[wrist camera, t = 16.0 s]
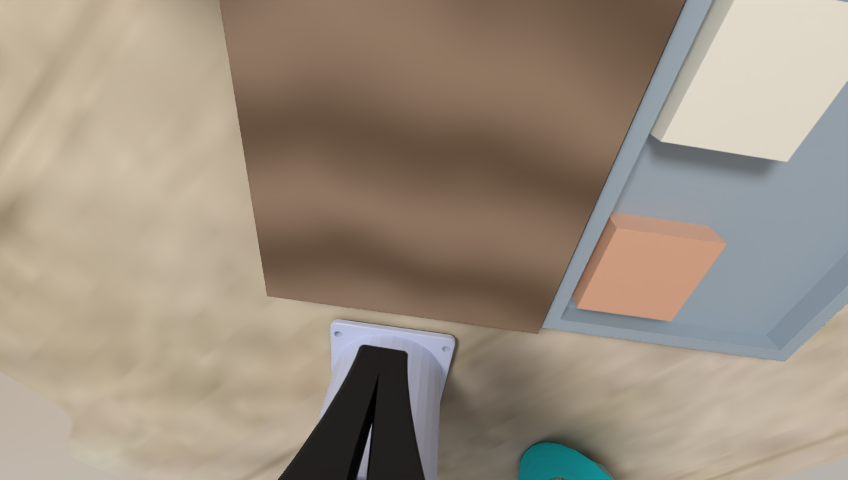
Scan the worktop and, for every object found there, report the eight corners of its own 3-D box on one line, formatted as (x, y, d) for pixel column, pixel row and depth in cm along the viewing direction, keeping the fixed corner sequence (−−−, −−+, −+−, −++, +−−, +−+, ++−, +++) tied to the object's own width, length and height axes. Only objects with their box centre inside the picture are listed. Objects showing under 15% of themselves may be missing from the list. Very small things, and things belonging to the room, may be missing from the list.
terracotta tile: (658, 301, 20) (671, 321, 19) (569, 289, 20) (577, 308, 19) (708, 226, 18) (727, 243, 16) (605, 211, 18) (616, 228, 16)
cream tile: (760, 148, 15) (787, 162, 14) (644, 129, 15) (661, 141, 14) (855, 9, 13) (899, 11, 11) (714, -16, 13) (743, -16, 11)
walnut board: (531, 307, 22) (537, 333, 20) (281, 272, 22) (267, 296, 20) (693, -93, 12) (731, -106, 10) (226, -164, 12) (188, -190, 10)
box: (766, 340, 22) (784, 361, 21) (536, 308, 22) (541, 327, 21) (1125, -26, 12) (1202, -28, 11) (702, -91, 12) (731, -101, 11)
